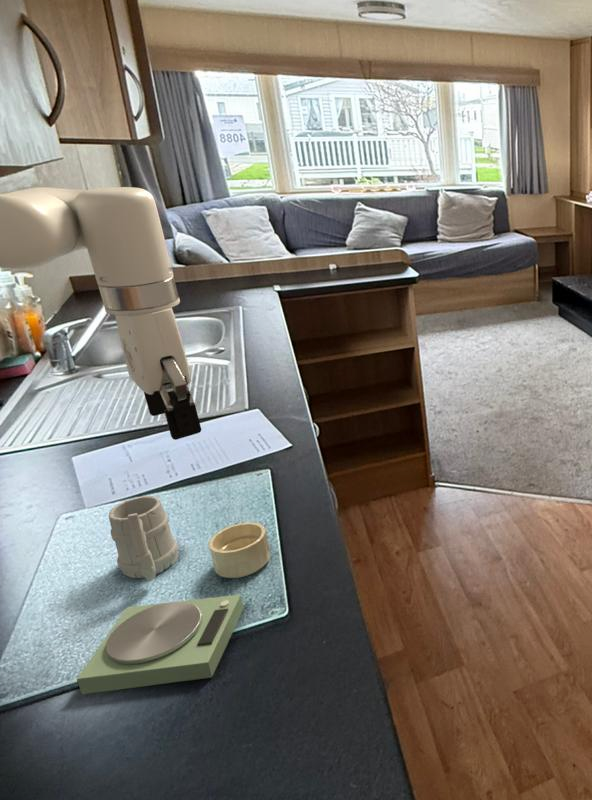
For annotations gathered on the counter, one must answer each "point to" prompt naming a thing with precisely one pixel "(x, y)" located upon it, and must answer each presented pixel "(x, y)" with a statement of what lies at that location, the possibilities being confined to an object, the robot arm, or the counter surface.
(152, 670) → the scale
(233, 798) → the counter surface
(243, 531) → the bowl
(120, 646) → the platform
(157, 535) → the mug
